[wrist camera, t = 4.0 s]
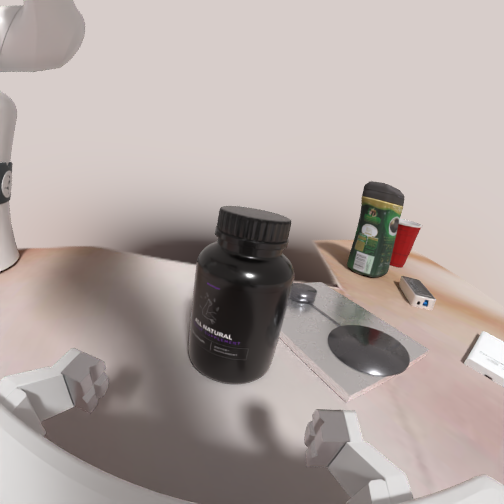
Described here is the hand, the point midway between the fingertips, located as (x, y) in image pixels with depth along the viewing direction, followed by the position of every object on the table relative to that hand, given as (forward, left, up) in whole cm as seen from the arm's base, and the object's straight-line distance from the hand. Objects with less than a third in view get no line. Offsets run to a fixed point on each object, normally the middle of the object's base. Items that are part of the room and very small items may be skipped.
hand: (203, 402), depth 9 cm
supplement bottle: (+6, +9, -7) cm, 13 cm away
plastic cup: (+61, +30, -7) cm, 68 cm away
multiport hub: (+44, +13, -7) cm, 46 cm away
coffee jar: (+44, +26, -7) cm, 52 cm away
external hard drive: (+36, -7, -7) cm, 38 cm away
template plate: (+19, +11, -6) cm, 23 cm away
